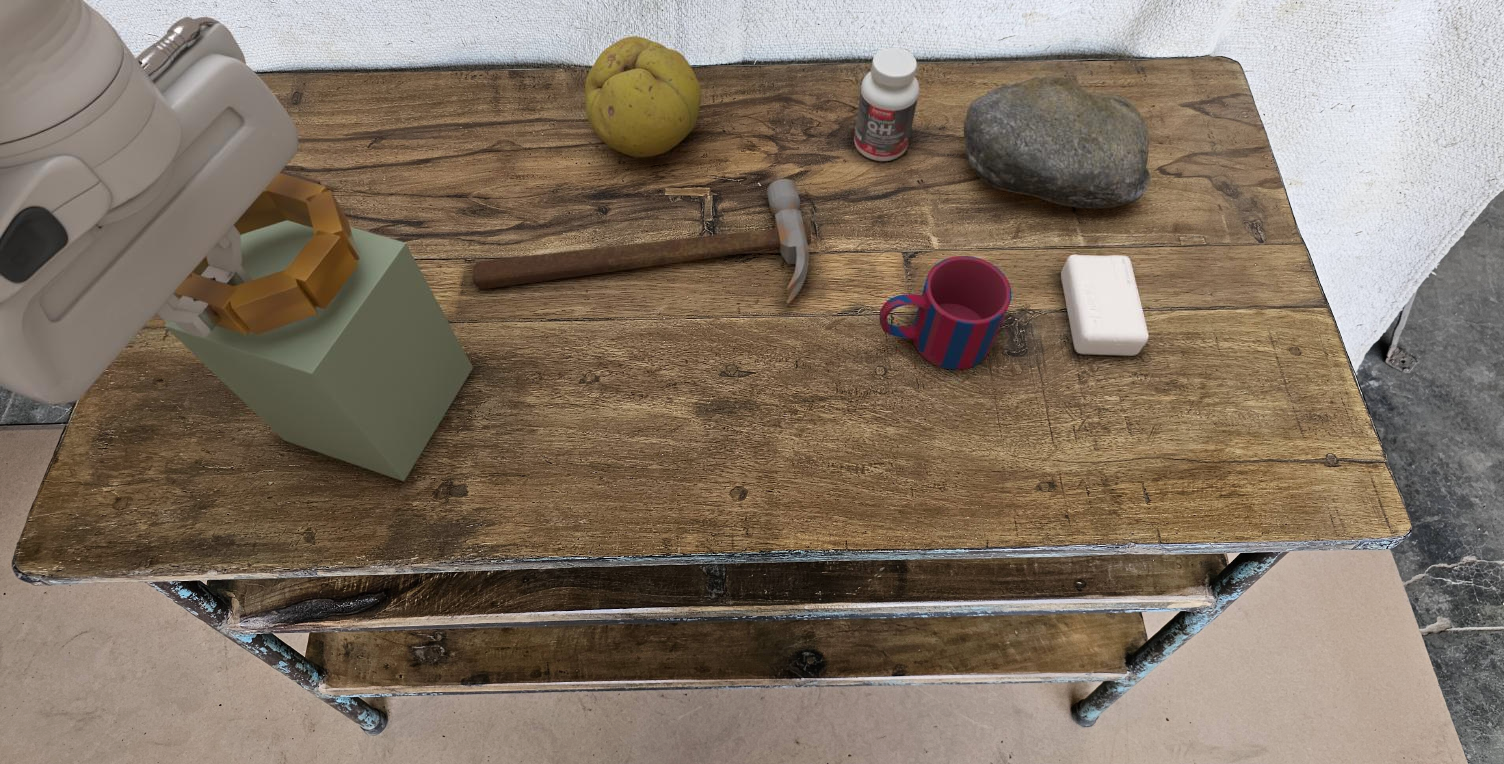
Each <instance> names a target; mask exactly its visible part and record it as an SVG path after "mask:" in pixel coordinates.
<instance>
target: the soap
mask: <svg viewBox="0 0 1504 764" xmlns="http://www.w3.org/2000/svg"><path fill="white" fill-rule="evenodd" d="M1060 280H1061V285H1062V291H1063V296H1064V300H1065V306H1066V311H1067V316H1068V317H1067V318H1068V322H1069V328H1070V333H1071V338H1072V344H1073V348H1074V351H1075V352H1076V353H1077V354H1080V355H1094V356H1095V355H1098V356H1126V357H1127V356H1129V357H1131V356H1136V355H1138V354H1139V353H1140V352H1141V351H1142V349H1143V348H1144V346H1145V345H1146V343H1147V342H1148V340H1149V331H1148V327H1147V322H1146V319H1145V315H1144V311H1143V305H1142V302H1141V298H1140V293H1139V289H1138V286H1137V280H1136V277H1135V273H1134V269H1133V265H1132V261H1131V259H1130V257H1129V256H1126V255H1117V254H1116V255H1114V254H1113V255H1111V254H1110V255H1092V254H1091V255H1090V254H1089V255H1087V254H1075V253H1074V254H1071V255H1069V256H1068V257H1067V259H1066V261H1065V263H1064V265H1063V267H1062V269H1061V271H1060Z"/></svg>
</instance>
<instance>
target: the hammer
mask: <svg viewBox="0 0 1504 764" xmlns="http://www.w3.org/2000/svg"><path fill="white" fill-rule="evenodd" d="M766 195H767V200H768V204H769V209H770V213H771V214H772V215H773V216H774V227H775V228H774V227H773V228H766V229H757V230H756V229H755V230H748V231H738V232H729V233H720V234H711V235H710V234H709V235H705V236H704V235H703V236H695V237H685V238H684V237H683V238H676V239H667V240H658V241H649V242H642V243H640V242H639V243H632V244H622V245H621V244H620V245H613V246H607V247H606V246H604V247H595V248H586V249H578V250H568V251H559V252H550V253H543V254H533V255H523V256H515V257H506V258H497V259H496V258H495V259H487V260H480V261H477V262H476V263H475V264H474V265H473V267H472V281H473V285H474V286H475V287H476V288H478V289H481V290H488V289H495V288H501V287H502V288H503V287H510V286H517V285H523V284H532V283H537V282H539V283H540V282H546V281H553V280H559V279H567V278H574V277H582V276H589V275H596V274H597V275H598V274H603V273H610V272H618V271H625V270H633V269H637V268H638V269H639V268H645V267H646V268H647V267H654V266H660V265H661V266H662V265H669V264H675V263H683V262H689V261H697V260H705V259H711V258H719V257H726V256H732V255H733V256H734V255H739V254H748V253H753V252H762V251H763V252H764V251H768V250H769V251H770V250H777V249H779V252H780V256H781V257H782V258H783V259H784V260H785V262H786V263H787V265H795V269H794V272H793V275H792V277H791V280H790V282H788V285H787V287H786V294H787V295H789V296H788V299H787V300H786V307H787V308H788V307H789V306H790V305H791V304H792V302H793V301H794V300H795V299H796V298H797V296H798V295H799V293H800V291H801V290H802V288H803V285H804V283H805V280H806V279H807V278H806V277H807V273H808V269H809V263H810V262H809V261H810V250H809V245H810V244H811V243H812V233H811V230H810V229H811V228H810V226H809V225H808V224H804V219H803V216H802V211H801V210H800V208H801V206H802V205H801V199H800V195H799V190H798V187H797V184H796V182H795V181H793V180H792V179H788V178H780V179H777V180H774V181H772V182H771V183H769V185H768V187H767V189H766Z"/></svg>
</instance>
